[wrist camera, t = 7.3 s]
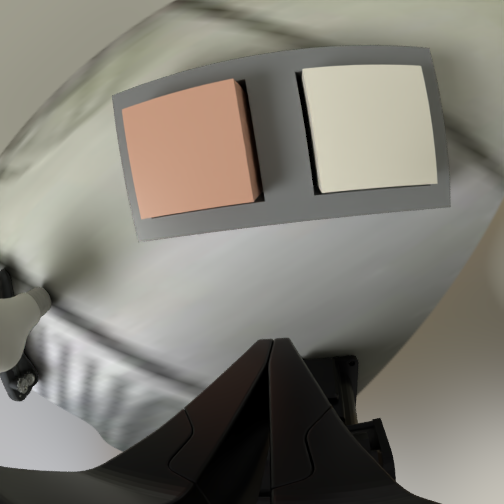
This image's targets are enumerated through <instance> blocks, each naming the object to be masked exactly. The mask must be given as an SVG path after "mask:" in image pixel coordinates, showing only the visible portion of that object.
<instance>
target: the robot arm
mask: <svg viewBox="0 0 504 504" xmlns="http://www.w3.org/2000/svg"><path fill="white" fill-rule="evenodd" d="M351 361H354V362H353V363H349V362H351ZM357 380H358V359H357V357H356V356H354V355H351V356H342V357H333V358H323V359H312V360H303V359H302V358H301V356H300V354H299V353H298V351H297V350H296V348H295V346H294V345H293V343H292V342H291V340H290V339H289V338H276V339H274V340H273V339H260V340H258V341H257V342H256V343H254V344H253V345H252V346H251V347H250V348H249V349H248V350H247V351H246V352H245V353H244V354H243V355H242V356H241V357H240V358H239V359H238V360H237V361H236V362H234V363H233V364H232V365H231V366H230V367H229V368H228V369H227V370H226V371H225V372H224V373H223V374H221V375H220V376H219V377H218V378H217V379H216V380H215V381H214V382H213V383H212V384H210V385H209V386H208V387H207V388H206V389H205V390H204V391H203V392H201V393H200V394H199V395H198V396H197V397H196V398H195V399H194V400H192V401H191V402H190V403H189V404H188V405H187V406H186V407H185V408H184V409H185V410H184V409H182V410H181V411H180V412H178V413H177V414H176V415H175V416H174V417H172V418H171V419H170V420H169V421H167V422H166V423H165V424H164V425H162V426H161V427H160V428H159V429H157V430H156V431H154V432H153V433H151V434H150V435H149V436H147V437H146V438H144V439H143V440H141V441H140V442H138V443H136V444H135V445H133V446H132V447H130V448H129V449H127V450H125V451H124V452H122V453H121V454H119V455H117V456H116V457H114V458H112V459H111V460H109V461H107V462H106V463H104V464H102V465H100V466H98V467H95V468H93V469H89V470H86V471H78V472H60V471H39V470H27V469H17V468H8V467H2V466H0V504H441V503H437V502H434V501H431V500H427V499H424V498H422V497H419V496H416V495H414V494H412V493H410V492H409V491H407V490H406V489H404V488H403V487H402V486H400V485H399V484H398V483H397V482H396V477H395V467H394V460H393V455H392V451H391V448H390V445H389V442H388V439H387V436H386V433H385V430H384V427H383V424H382V421H381V419H380V418H377V419H373V420H372V421H369V422H364V423H358V420H357V413H356V395H357Z"/></svg>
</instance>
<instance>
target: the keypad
mask: <svg viewBox="0 0 504 504" xmlns="http://www.w3.org/2000/svg"><path fill="white" fill-rule="evenodd" d="M344 65H415V66H421V68H422V72H423V77H424V82H425V87H426V92H427V97H428V103H429V109H430V115H431V122H432V129H433V137H434V146H435V156H436V168H437V183H438V184H423V185H408V186H394V187H381V188H369V189H358V190H347V191H337V192H327V193H322V192H321V190H320V189H319V187H318V186H313V182H312V175H311V167H310V160H309V153H308V146H307V140H306V133H305V127H304V121H303V115H302V109H301V103H300V97H299V92H298V87H301V84H302V69H305V68H316V67H328V66H344ZM228 79H234V80H235V81H236V82H237V83H238V84H239V85H240V86H241V87H242V88H243V90H244V91H245V92H246V93H247V94H248V98H249V104H250V110H251V116H252V122H253V128H254V134H255V140H256V146H257V152H258V159H259V165H260V171H261V178H262V184H263V190H264V192H261V194H260V195H259V196H258V197H257V198H256V200H255V201H254V202H249V203H242V204H234V205H227V206H221V207H214V208H207V209H201V210H194V211H188V212H182V213H176V214H170V215H164V216H158V217H152V218H146V219H141V216H140V211H139V206H138V202H137V197H136V192H135V187H134V182H133V177H132V171H131V166H130V160H129V154H128V148H127V142H126V136H125V129H124V122H123V115H122V109H125V108H127V107H130V106H133V105H136V104H139V103H142V102H145V101H148V100H151V99H155V98H158V97H161V96H164V95H168V94H171V93H175V92H178V91H182V90H186V89H189V88H193V87H197V86H201V85H205V84H210V83H214V82H219V81H223V80H228ZM112 100H113V108H114V116H115V124H116V131H117V137H118V144H119V150H120V156H121V162H122V167H123V173H124V178H125V183H126V189H127V193H128V198H129V203H130V208H131V212H132V217H133V221H134V225H135V230H136V234H137V238H138V242H144V241H151V240H158V239H165V238H172V237H180V236H187V235H195V234H202V233H210V232H218V231H226V230H234V229H242V228H250V227H258V226H267V225H275V224H284V223H292V222H301V221H310V220H320V219H329V218H339V217H348V216H358V215H368V214H379V213H389V212H400V211H411V210H423V209H435V208H447V207H451V205H450V177H449V162H448V151H447V141H446V133H445V125H444V118H443V111H442V105H441V99H440V94H439V89H438V84H437V79H436V74H435V70H434V65H433V61H432V57H431V53H430V50H429V48H423V47H410V46H388V45H352V46H330V47H316V48H305V49H296V50H287V51H279V52H272V53H266V54H260V55H254V56H248V57H243V58H238V59H233V60H228V61H223V62H219V63H214V64H210V65H206V66H202V67H198V68H194V69H190V70H187V71H183V72H180V73H176V74H173V75H170V76H166V77H163V78H160V79H157V80H154V81H151V82H148V83H145V84H142V85H139V86H136V87H133V88H131V89H128V90H125V91H123V92H120V93H117V94H115V95H112Z"/></svg>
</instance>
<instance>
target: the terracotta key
mask: <svg viewBox="0 0 504 504" xmlns="http://www.w3.org/2000/svg"><path fill="white" fill-rule="evenodd" d="M122 115H123V122H124V129H125V136H126V142H127V148H128V154H129V160H130V166H131V171H132V177H133V182H134V187H135V192H136V197H137V202H138V206H139V211H140V216H141V219H146V218H152V217H158V216H164V215H170V214H176V213H182V212H188V211H194V210H201V209H207V208H214V207H221V206H227V205H234V204H242V203H249V202H254V201H255V200H256V198H257V197H258V196H259V195H260V194H261V192H262V191H263V184H262V178H261V171H260V165H259V159H258V152H257V146H256V140H255V134H254V128H253V122H252V116H251V110H250V104H249V98H248V94H247V93H246V92H245V91H244V90H243V88H242V87H241V86H240V85H239V84H238V83H237V82H236V81H235V80H234V79H228V80H223V81H219V82H214V83H210V84H205V85H201V86H197V87H193V88H189V89H186V90H182V91H178V92H175V93H171V94H168V95H164V96H161V97H158V98H155V99H151V100H148V101H145V102H142V103H139V104H136V105H133V106H130V107H127V108H125V109H122Z"/></svg>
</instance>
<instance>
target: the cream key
mask: <svg viewBox="0 0 504 504" xmlns="http://www.w3.org/2000/svg"><path fill="white" fill-rule="evenodd" d="M301 90H302V96H303V101H304V107H305V113H306V119H307V125H308V131H309V138H310V144H311V151H312V158H313V165H314V173H315V181H316V184H317V186H318V187H319V189H320V190H321V192H322V193H327V192H337V191H347V190H358V189H369V188H381V187H394V186H408V185H423V184H438V183H437V168H436V156H435V146H434V137H433V129H432V122H431V115H430V109H429V103H428V97H427V92H426V87H425V82H424V77H423V72H422V68H421V66H415V65H344V66H328V67H316V68H305V69H302V84H301Z"/></svg>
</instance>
